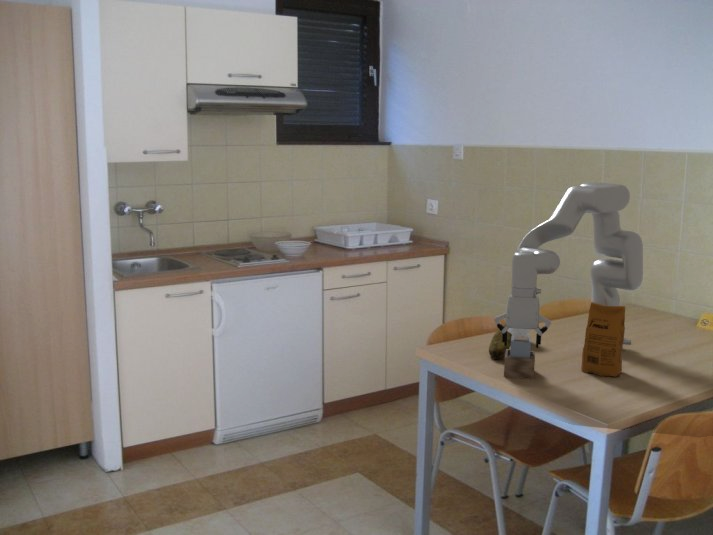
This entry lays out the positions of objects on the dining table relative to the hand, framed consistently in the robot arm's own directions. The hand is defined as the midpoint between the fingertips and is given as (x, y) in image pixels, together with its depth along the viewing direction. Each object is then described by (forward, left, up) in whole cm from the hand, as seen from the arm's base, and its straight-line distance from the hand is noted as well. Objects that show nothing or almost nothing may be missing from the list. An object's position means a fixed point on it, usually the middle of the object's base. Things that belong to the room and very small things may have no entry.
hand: (521, 345), depth 232 cm
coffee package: (-25, -9, -9) cm, 28 cm away
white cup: (+1, -38, -9) cm, 39 cm away
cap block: (0, 0, -4) cm, 4 cm away
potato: (+7, -17, -9) cm, 21 cm away
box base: (0, 0, -9) cm, 9 cm away
